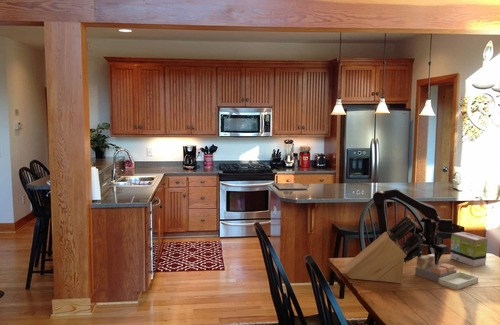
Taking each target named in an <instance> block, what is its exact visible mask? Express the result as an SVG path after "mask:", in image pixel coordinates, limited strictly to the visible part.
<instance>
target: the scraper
mask: <svg viewBox="0 0 500 325" xmlns="http://www.w3.org/2000/svg"><path fill="white" fill-rule="evenodd" d="M437 265H440V260H439V261H438V264H437ZM432 266H436V265H435V255H434V253H431V254H430V253H429V254H427V255H421V257H416V267H415V268H419V269H425V268H429V267H432Z"/></svg>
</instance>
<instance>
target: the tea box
mask: <svg viewBox="0 0 500 325" xmlns="http://www.w3.org/2000/svg"><path fill="white" fill-rule="evenodd" d="M450 237H451V238H450V251H449V252H450V254H449V256H450V257H449V259H452V260H455V261H458V262H459V263H463V264H466V265H469V266H470V267H472V268H473V267H479V266H483V265H486V262H487V252H488V251H487V249H488V238H487V237H483V236H481V235H477V234H472V233H469V232H465V231H460V232H452V234H451V236H450Z"/></svg>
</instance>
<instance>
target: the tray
mask: <svg viewBox="0 0 500 325" xmlns="http://www.w3.org/2000/svg"><path fill="white" fill-rule="evenodd" d="M477 283H479V276H475V275H473V274H468V273H466V272H462V271H458V272H457V273H454V274H451V275H448V276H445V277H441V278H438V282H437V284H438V285H441V286H443V287H447V288H449V289H453V290H455V291H457V290H461V289H463V288H467V287H469V286H471V285H474V284H477Z"/></svg>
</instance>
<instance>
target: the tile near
mask: <svg viewBox="0 0 500 325" xmlns="http://www.w3.org/2000/svg"><path fill="white" fill-rule="evenodd" d="M431 272H434V273H437V274H444V273H446V268H443V267H440V266H434V267H431Z"/></svg>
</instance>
